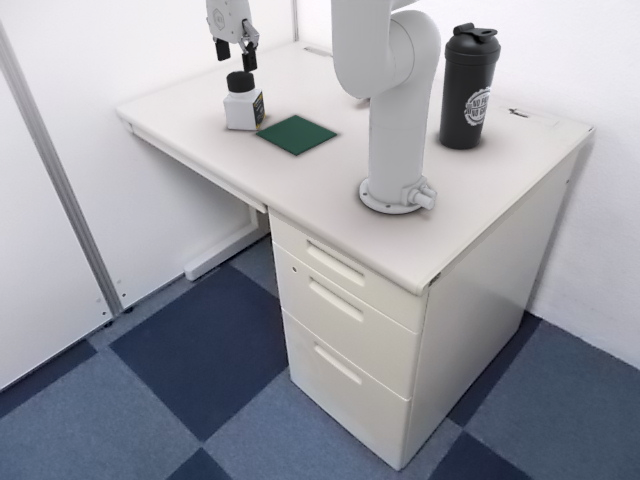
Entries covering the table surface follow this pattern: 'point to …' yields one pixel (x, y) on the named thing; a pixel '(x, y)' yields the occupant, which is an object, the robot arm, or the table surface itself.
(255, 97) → the medicine bottle
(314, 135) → the cutting mat
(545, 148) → the table surface
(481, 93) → the water bottle
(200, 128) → the table surface
